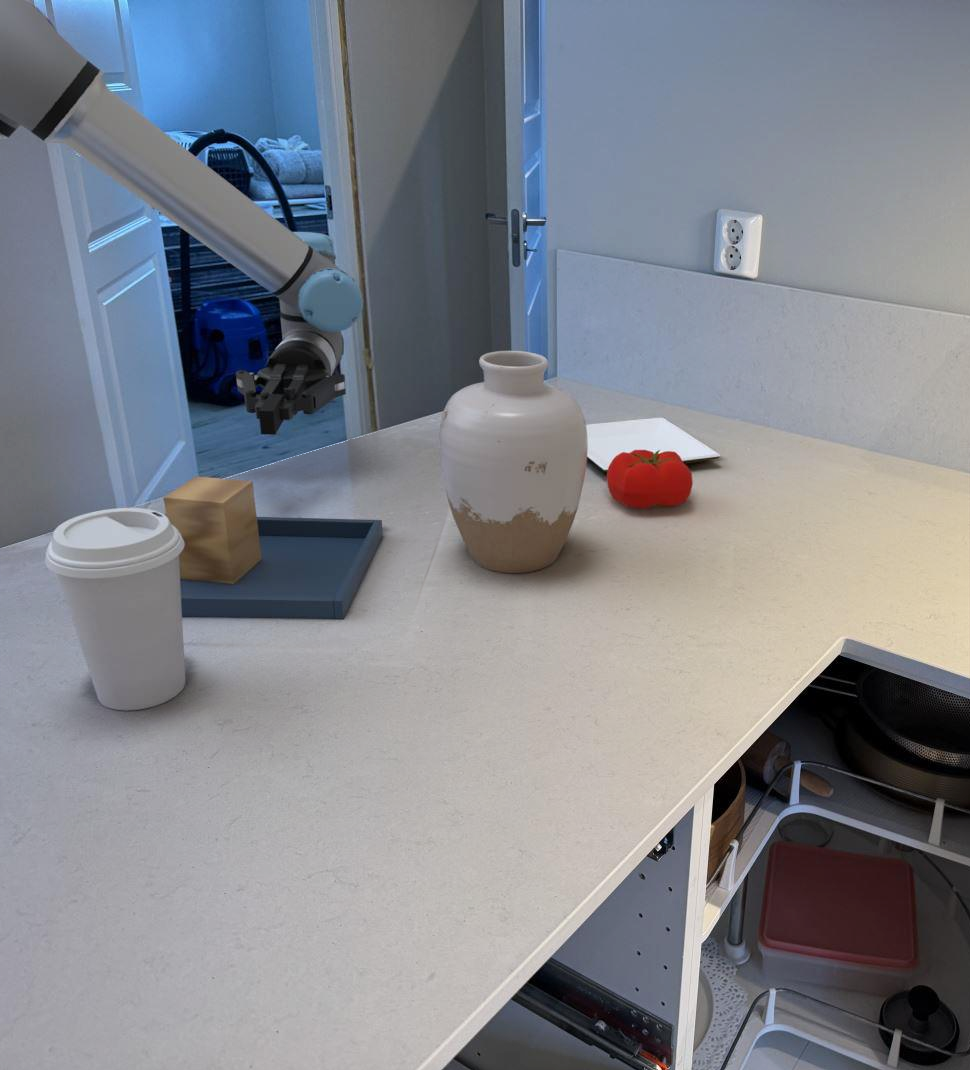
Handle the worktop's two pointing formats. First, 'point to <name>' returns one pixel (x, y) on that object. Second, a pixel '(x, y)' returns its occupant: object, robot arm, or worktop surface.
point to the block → (215, 528)
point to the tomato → (649, 479)
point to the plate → (643, 441)
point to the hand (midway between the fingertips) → (267, 422)
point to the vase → (513, 463)
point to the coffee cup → (124, 602)
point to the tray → (293, 572)
